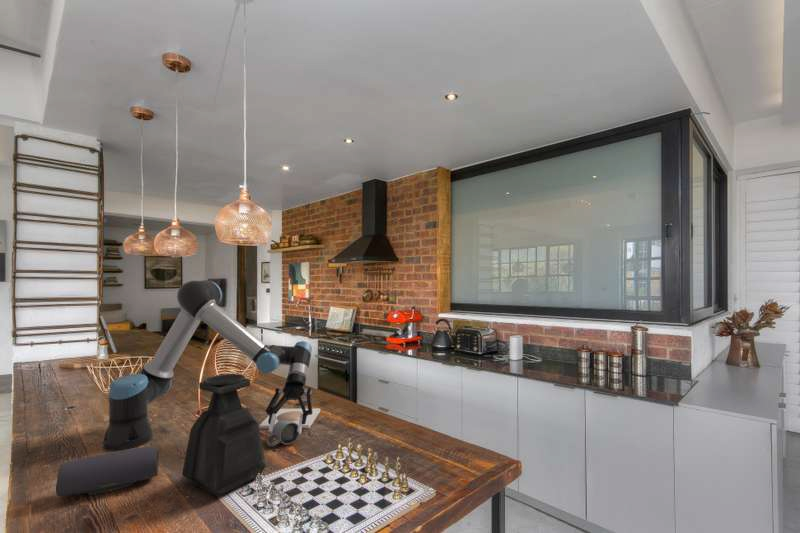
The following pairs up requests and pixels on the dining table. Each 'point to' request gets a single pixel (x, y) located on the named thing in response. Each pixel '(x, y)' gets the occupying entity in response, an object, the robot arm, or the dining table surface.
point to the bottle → (224, 439)
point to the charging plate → (292, 416)
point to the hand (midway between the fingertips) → (284, 432)
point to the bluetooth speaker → (107, 471)
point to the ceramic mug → (284, 433)
